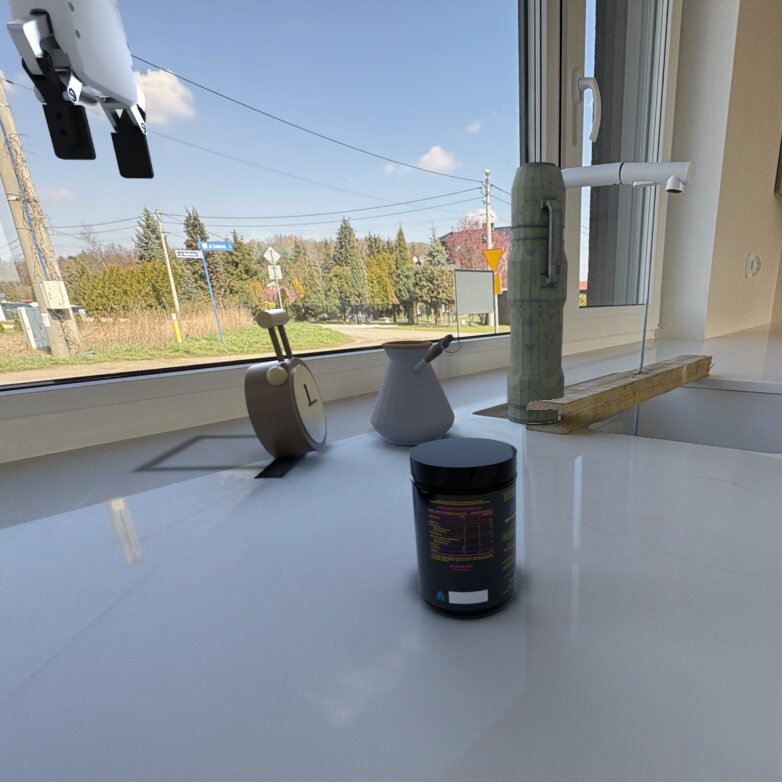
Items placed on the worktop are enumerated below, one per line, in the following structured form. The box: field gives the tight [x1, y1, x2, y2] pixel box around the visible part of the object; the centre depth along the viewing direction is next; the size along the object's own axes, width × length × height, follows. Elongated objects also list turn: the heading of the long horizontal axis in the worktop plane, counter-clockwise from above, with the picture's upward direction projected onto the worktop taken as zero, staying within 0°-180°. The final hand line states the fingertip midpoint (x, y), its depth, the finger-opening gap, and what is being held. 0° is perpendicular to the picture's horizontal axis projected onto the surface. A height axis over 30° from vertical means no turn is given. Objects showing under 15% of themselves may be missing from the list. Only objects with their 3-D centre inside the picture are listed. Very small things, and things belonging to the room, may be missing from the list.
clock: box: [243, 308, 328, 458], centre depth 66 cm, size 16×11×5 cm
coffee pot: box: [369, 333, 462, 446], centre depth 72 cm, size 21×12×15 cm, turn 28°
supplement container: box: [408, 437, 518, 620], centre depth 37 cm, size 7×7×10 cm
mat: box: [253, 453, 307, 479], centre depth 69 cm, size 15×14×1 cm
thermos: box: [506, 161, 569, 425], centre depth 84 cm, size 9×12×35 cm
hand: (109, 169), depth 55 cm, fingers open, 9 cm apart
